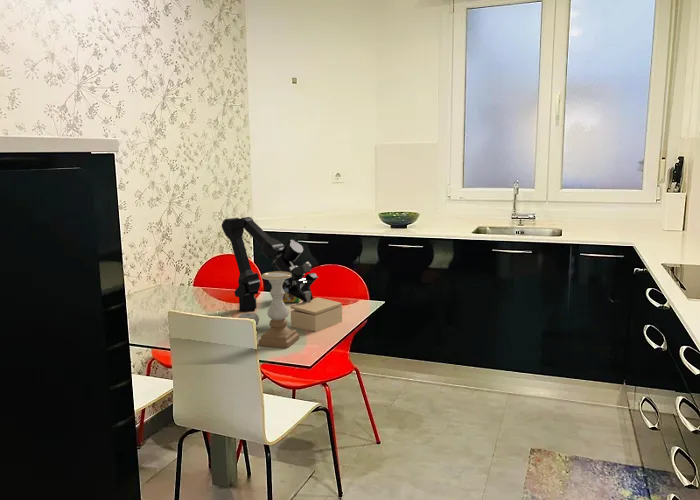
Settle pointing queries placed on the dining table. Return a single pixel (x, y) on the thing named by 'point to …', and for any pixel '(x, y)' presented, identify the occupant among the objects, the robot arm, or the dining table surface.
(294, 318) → the wooden box
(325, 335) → the dining table surface
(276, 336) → the candle holder
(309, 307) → the lid
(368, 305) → the dining table surface
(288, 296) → the chalk box
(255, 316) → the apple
